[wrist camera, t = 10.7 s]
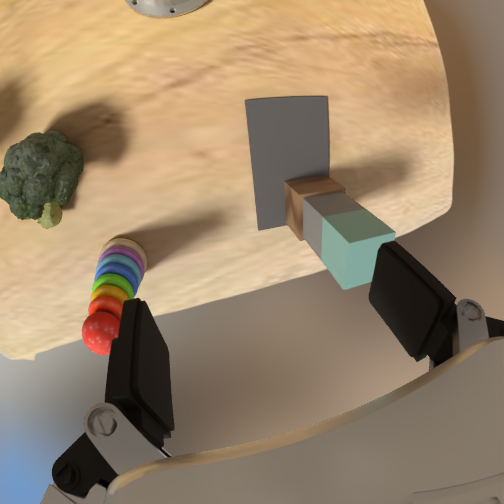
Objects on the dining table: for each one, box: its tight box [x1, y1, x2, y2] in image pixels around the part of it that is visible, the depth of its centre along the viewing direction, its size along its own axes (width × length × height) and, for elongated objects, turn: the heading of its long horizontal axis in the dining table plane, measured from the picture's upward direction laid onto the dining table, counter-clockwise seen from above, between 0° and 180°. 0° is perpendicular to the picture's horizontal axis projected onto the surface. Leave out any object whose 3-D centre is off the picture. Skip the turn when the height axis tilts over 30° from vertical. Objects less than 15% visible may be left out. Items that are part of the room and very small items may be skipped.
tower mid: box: [303, 192, 365, 260], centre depth 35 cm, size 6×6×6 cm
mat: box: [245, 96, 329, 231], centre depth 39 cm, size 20×12×1 cm, turn 6°
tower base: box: [284, 175, 345, 241], centre depth 40 cm, size 7×7×6 cm
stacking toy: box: [82, 238, 147, 355], centre depth 33 cm, size 8×8×19 cm
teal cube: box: [321, 209, 396, 290], centre depth 30 cm, size 6×6×6 cm
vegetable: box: [0, 130, 83, 229], centre depth 27 cm, size 12×13×15 cm
